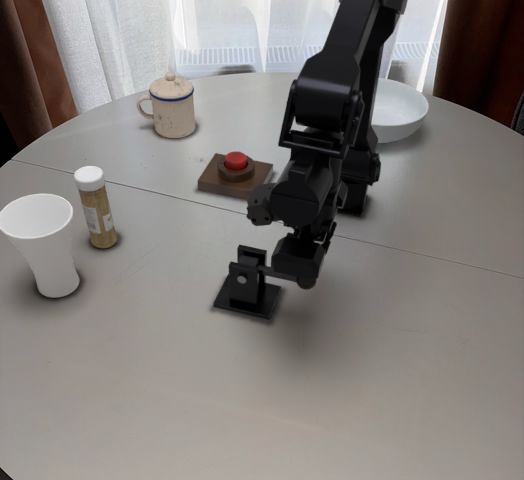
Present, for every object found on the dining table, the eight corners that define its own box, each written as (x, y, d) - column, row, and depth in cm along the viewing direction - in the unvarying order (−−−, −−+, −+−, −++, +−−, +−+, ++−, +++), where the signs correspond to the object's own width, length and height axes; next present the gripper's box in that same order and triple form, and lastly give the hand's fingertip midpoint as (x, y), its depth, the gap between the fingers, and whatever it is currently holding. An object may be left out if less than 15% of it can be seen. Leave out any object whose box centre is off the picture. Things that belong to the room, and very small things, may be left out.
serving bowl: (429, 157, 119) (437, 126, 114) (327, 155, 119) (331, 123, 114) (413, 107, 133) (420, 77, 128) (322, 104, 133) (325, 74, 127)
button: (249, 161, 111) (249, 153, 109) (242, 173, 108) (242, 164, 107) (229, 158, 111) (229, 149, 110) (222, 169, 109) (222, 160, 107)
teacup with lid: (196, 117, 128) (192, 63, 119) (196, 139, 122) (192, 84, 113) (141, 118, 127) (133, 64, 118) (139, 140, 121) (130, 85, 112)
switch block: (273, 173, 115) (273, 155, 111) (258, 202, 108) (258, 184, 105) (215, 162, 117) (215, 144, 113) (198, 190, 110) (196, 172, 107)
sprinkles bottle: (122, 243, 100) (107, 175, 90) (97, 252, 98) (80, 184, 88) (111, 229, 102) (96, 161, 92) (86, 237, 101) (68, 170, 90)
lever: (317, 282, 87) (319, 267, 84) (313, 295, 85) (314, 280, 83) (242, 266, 89) (242, 250, 86) (236, 278, 87) (235, 263, 85)
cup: (20, 271, 95) (-8, 202, 84) (84, 255, 98) (65, 187, 87) (30, 314, 89) (2, 245, 78) (98, 296, 92) (80, 227, 81)
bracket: (281, 291, 93) (283, 249, 86) (268, 321, 89) (270, 279, 82) (228, 279, 95) (226, 236, 88) (213, 308, 90) (211, 266, 84)
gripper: (274, 129, 79) (271, 222, 91) (230, 208, 67) (232, 303, 79) (355, 143, 77) (340, 236, 89) (323, 227, 65) (311, 321, 77)
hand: (306, 271), depth 84 cm, fingers closed
